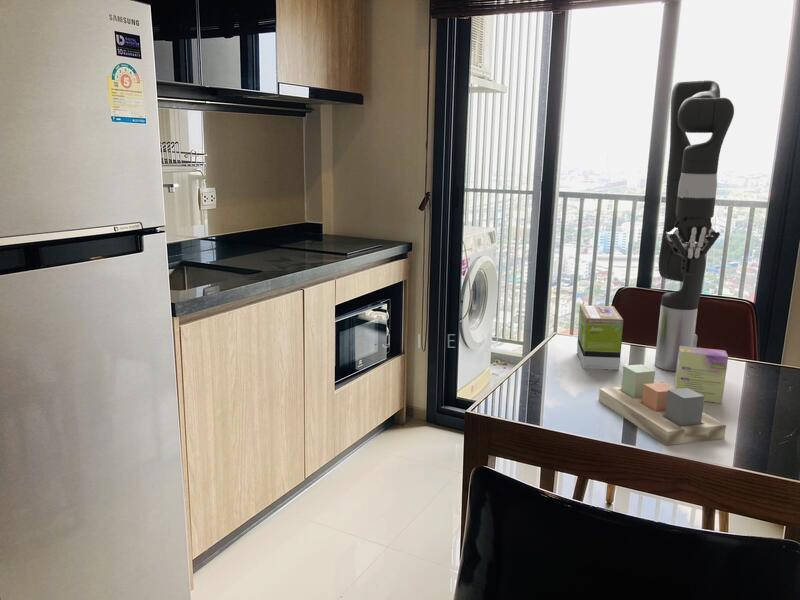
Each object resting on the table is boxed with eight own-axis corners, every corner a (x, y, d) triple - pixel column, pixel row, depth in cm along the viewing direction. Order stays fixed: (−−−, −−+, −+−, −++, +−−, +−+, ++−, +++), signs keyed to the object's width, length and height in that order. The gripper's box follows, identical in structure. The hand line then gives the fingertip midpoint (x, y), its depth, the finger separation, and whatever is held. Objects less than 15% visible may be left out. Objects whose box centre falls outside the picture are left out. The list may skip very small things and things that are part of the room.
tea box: (575, 352, 193) (579, 303, 190) (610, 354, 192) (615, 305, 188) (582, 369, 178) (586, 316, 175) (620, 371, 177) (625, 318, 174)
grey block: (684, 416, 141) (687, 387, 139) (700, 425, 136) (704, 396, 135) (664, 418, 140) (667, 389, 138) (680, 427, 135) (683, 398, 133)
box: (719, 395, 160) (725, 349, 157) (722, 404, 155) (728, 356, 152) (673, 390, 163) (678, 344, 161) (674, 398, 158) (680, 351, 156)
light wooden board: (649, 395, 160) (650, 383, 159) (724, 438, 136) (726, 425, 135) (598, 400, 156) (599, 388, 155) (666, 445, 132) (668, 431, 132)
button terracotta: (660, 409, 149) (662, 382, 147) (674, 417, 144) (677, 390, 143) (640, 411, 147) (643, 384, 146) (654, 420, 143) (658, 392, 141)
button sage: (639, 390, 156) (641, 364, 154) (652, 397, 151) (655, 371, 150) (620, 391, 155) (623, 365, 153) (633, 399, 150) (636, 372, 148)
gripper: (710, 193, 146) (701, 270, 150) (658, 194, 142) (651, 272, 146) (735, 195, 139) (725, 276, 143) (682, 196, 135) (673, 279, 139)
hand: (687, 274), depth 144 cm, fingers closed
